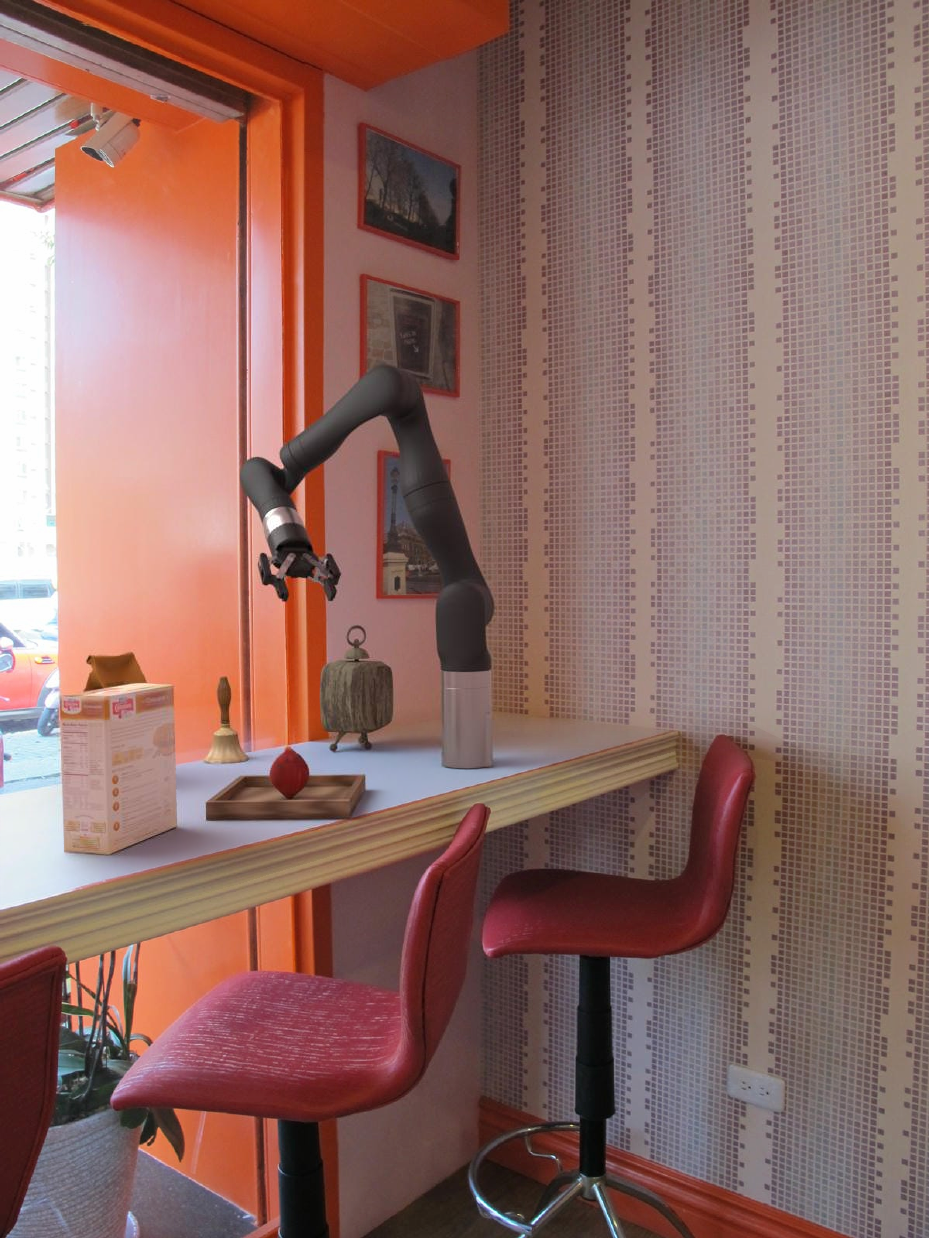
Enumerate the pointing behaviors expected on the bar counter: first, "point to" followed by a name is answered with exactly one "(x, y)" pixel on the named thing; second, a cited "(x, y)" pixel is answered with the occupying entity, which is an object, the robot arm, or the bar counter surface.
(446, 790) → the bar counter surface
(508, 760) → the bar counter surface
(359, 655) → the tabletop clock
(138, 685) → the coffeecake box
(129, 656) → the coffee package
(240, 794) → the walnut tray
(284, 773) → the onion
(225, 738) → the hand bell
